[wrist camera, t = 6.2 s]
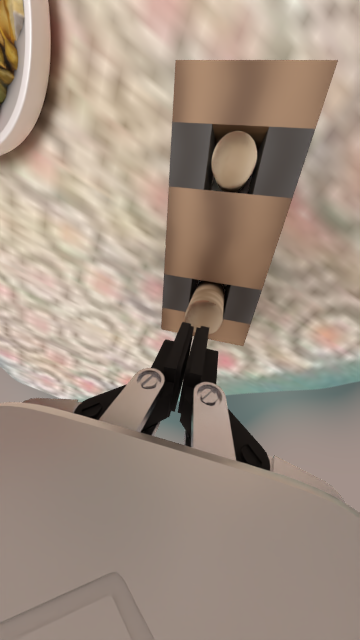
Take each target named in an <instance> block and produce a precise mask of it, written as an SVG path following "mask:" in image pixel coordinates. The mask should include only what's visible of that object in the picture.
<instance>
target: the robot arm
mask: <svg viewBox="0 0 360 640" xmlns="http://www.w3.org/2000/svg"><path fill="white" fill-rule="evenodd" d="M209 328H210V327H205V326H201V327H200V328H198V327H197V328H196V332H195V336H194V339H193V343H192V347H191V342H192V336H193V330H194V327H193V326H191V324H190V323H186V322H182V324H181V326H180V329H179V331H178V333H177V336H176V338H175V341H170V340H165V341H164V343H163V345H162V347H161V349H160V351H159V353H158V355H157V357H156V359H155V361H154V363H153V365H152V367H151V368H145V369H142V370H140V371H138V372H137V373H136V374H135V375H134V377H133V378H132V379H131V380H130V382H129V383H128V384H127V385H124V386H121V387H119V388H116V389H113V390H111V391H108V392H105V393H103V394H100V395H97V396H95V397H92V398H89V399H87V400H85V401H83V402H78V400H72V399H50V398H31V399H29V400H25V401H24V402H22V403H20V402H6V403H0V640H360V512H358V511H357V510H355V509H354V508H352V507H351V506H349V505H347V504H346V503H345V502H344V500H343V499H342V497H341V495H340V494H339V493H338V492H337V491H336V490H335V489H334V488H333V487H332V486H331V485H329V484H328V483H326V482H325V481H323V480H321V479H319V478H317V477H315V476H314V475H311V474H310V473H308V472H306V471H304V470H302V469H300V468H298V467H296V466H294V465H292V464H290V463H288V462H286V461H284V460H283V459H280V458H279V457H277V456H275V455H274V456H273V457H271V456H269V455H267V453H266V452H265V450H264V449H263V448H262V446H261V445H260V444H259V443H258V442H257V441H256V440H255V439H254V437H253V436H252V435H251V434H250V433H249V432H248V431H247V430H246V428H245V427H244V426H243V425H242V424H241V423H240V422H239V421H238V419H237V418H236V417H235V416H234V415H233V414H232V413H231V412H230V410H229V409H228V408H227V402H226V397H225V393H224V392H223V390H222V389H221V388H220V387H219V386H218V385H216V378H217V364H218V351H214V350H210V349H206V347H207V341H208V334H209ZM190 347H191V351H190ZM189 353H190V354H189ZM183 379H184V380H183ZM182 382H183V385H182ZM181 386H182V391H181V397H180V402H179V409H178V413H181V418H180V422H181V423H182V425H183V427H184V428H185V436H184V445H181V444H178V443H175V442H171V441H168V440H165V439H161V438H158V437H154V435H155V433H156V431H157V429H158V427H159V424H160V421H162V420H163V419H165V418H167V417H169V416H170V412H171V411H175V409H176V405H177V401H178V397H179V394H180V390H181Z"/></svg>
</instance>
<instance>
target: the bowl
mask: <svg viewBox="0 0 360 640" xmlns="http://www.w3.org/2000/svg"><path fill="white" fill-rule="evenodd" d="M50 53H51V31H50V14H49V3H48V0H0V155H3V154H6V153H8V152H10V151H11V150H13V149H14V148H16V147H17V146H18V145H20V144H21V143H22V142H23V141H24V140H25V139H26V137H27V136H28V135H29V133H30V132H31V130H32V129H33V127H34V125H35V123H36V122H37V119H38V117H39V115H40V112H41V109H42V106H43V103H44V99H45V95H46V90H47V85H48V78H49V70H50Z"/></svg>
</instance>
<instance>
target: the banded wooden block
mask: <svg viewBox="0 0 360 640" xmlns="http://www.w3.org/2000/svg"><path fill="white" fill-rule="evenodd" d="M337 62H338V60H176V64H175V83H174V101H173V120H172V138H171V157H170V176H169V194H168V213H167V231H166V250H165V269H164V287H163V306H162V324H161V329H163V330H168V331H172V332H177V333H178V331H179V329H180V326H181V324H182V322H185V313H186V310H187V308H188V306H189V303H190V301H191V299H192V296H193V294H194V292H195V289H196V287H197V283H198V280H203V281H209V282H215V283H222V284H227V286H226V291H225V295H224V306H223V321H222V325H221V327H220V328H219V329H218V330H217V331H216V332H214V333H212V334H208V339H211V340H216V341H221V342H226V343H231V344H235V345H240V346H243V345H244V342H245V339H246V336H247V333H248V330H249V327H250V324H251V321H252V318H253V315H254V312H255V309H256V306H257V303H258V300H259V297H260V294H261V291H262V288H263V285H264V282H265V279H266V276H267V273H268V270H269V267H270V264H271V261H272V258H273V255H274V252H275V249H276V246H277V243H278V240H279V237H280V234H281V231H282V228H283V225H284V222H285V219H286V216H287V213H288V210H289V207H290V204H291V201H292V197H293V194H294V191H295V188H296V185H297V182H298V179H299V176H300V173H301V170H302V167H303V164H304V161H305V158H306V155H307V152H308V149H309V146H310V143H311V140H312V137H313V134H314V131H315V128H316V125H317V122H318V119H319V116H320V113H321V110H322V107H323V104H324V101H325V98H326V95H327V92H328V89H329V86H330V83H331V80H332V77H333V74H334V71H335V68H336V65H337ZM234 131H243V132H245V133H247V134H249V135H250V136H251V137H252V139H253V140H254V142H255V145H256V148H257V160H256V164H255V167H254V170H253V173H252V178H251V182H250V186H249V191H248V194H242V193H231V192H221V191H211V187H212V181H213V172H212V165H211V162H212V155H213V152H214V149H215V147H216V145H217V144H218V142H219V141H220V140H221V139H222V138H223V137H224V136H225V135H227V134H228V133H231V132H234ZM193 336H195V332H193Z"/></svg>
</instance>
